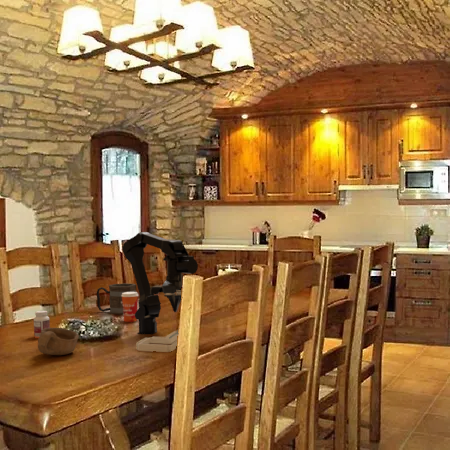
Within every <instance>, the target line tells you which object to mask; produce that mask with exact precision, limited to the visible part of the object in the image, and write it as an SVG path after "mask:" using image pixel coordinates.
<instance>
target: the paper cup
mask: <svg viewBox="0 0 450 450" xmlns="http://www.w3.org/2000/svg"><path fill="white" fill-rule="evenodd" d="M121 296H122V303H123V314H122V315H123V322H126V323H127V322H128V323H130V322H131V323H133V322H137V320H138V319H136V318H135V313H136V312H137V310H138V306H139V304H138V303H139V297H140V294H139V293H138V292H137V291H136V292H124V293H122V295H121Z"/></svg>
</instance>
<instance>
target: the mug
mask: <svg viewBox="0 0 450 450" xmlns="http://www.w3.org/2000/svg"><path fill="white" fill-rule="evenodd" d="M108 287H109V290H107V289H106V288H105V287H102V286H101V287H99V288H97V291H96V302H97V308H98V310H99V311H100V312H106V311H109V313H110V314H111V315H120V316H121V315H123V303H122V296H121V295H122V293H124V292H137V283H136V284H135V283H127V282H126V283H113V284H108ZM101 290H103V291H104V292H105V293H106V294H109V299H108V302H109V307H107V308H104V309H103V308H102V307H101V297H100V291H101Z"/></svg>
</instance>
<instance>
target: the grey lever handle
mask: <svg viewBox="0 0 450 450" xmlns="http://www.w3.org/2000/svg"><path fill="white" fill-rule="evenodd" d="M178 335H179V333H178V329H177V330H174V331H172V332H171V333H169V334H167V335H165V337H166V338H167V340H168V341H169V343H172V342H173V341H175V340H177V336H178Z"/></svg>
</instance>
